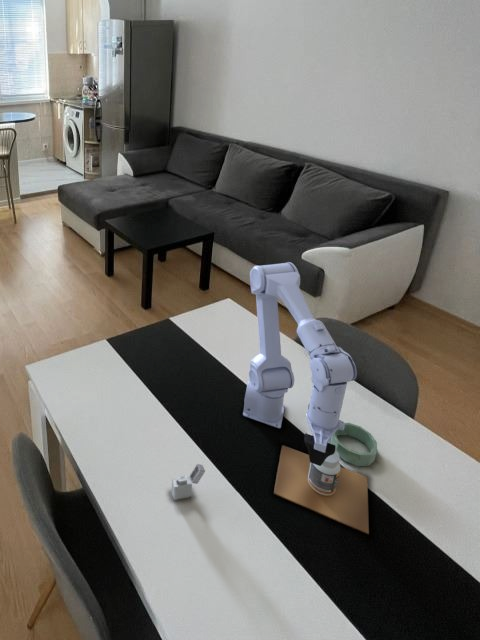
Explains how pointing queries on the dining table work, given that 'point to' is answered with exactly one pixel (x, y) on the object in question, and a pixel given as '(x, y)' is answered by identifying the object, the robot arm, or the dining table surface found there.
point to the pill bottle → (325, 475)
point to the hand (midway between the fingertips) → (316, 449)
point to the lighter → (186, 483)
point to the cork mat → (340, 506)
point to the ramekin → (353, 456)
